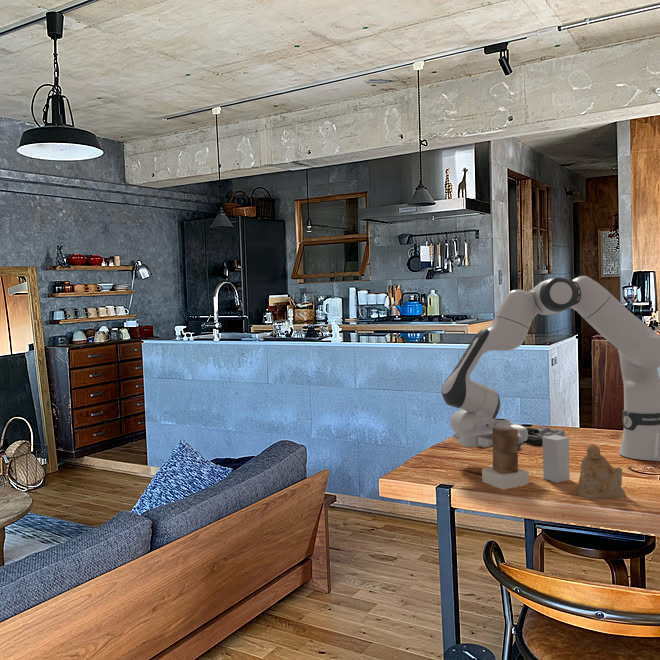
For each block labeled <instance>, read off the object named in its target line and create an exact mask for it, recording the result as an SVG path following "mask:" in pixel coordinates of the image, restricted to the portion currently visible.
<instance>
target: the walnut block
mask: <svg viewBox="0 0 660 660" xmlns="http://www.w3.org/2000/svg"><path fill="white" fill-rule="evenodd" d="M492 436H493V446H492V467H493V470H495V471H497V472H499V473H500V474H507V473H517V472H518V468H519V455H518V454H519V453H518V452H519V450H518V449H519V448H518V437H517V429H514V428H512V427H509V426H505V427H493V428H492Z"/></svg>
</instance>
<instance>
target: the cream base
mask: <svg viewBox="0 0 660 660" xmlns="http://www.w3.org/2000/svg"><path fill="white" fill-rule="evenodd" d="M529 474H530V472H529V471H527V470H524V469H522V468H519V467H518V472H517V473H507V474H500V473H499V472H497V471H495V470H493V466H492V467H488V468H482V469H481V477H482V478H481V481H482V483H484V482H485V483H484V484H486V483H487V484H486V485H489V484H490V486H492V485H493V486H492V487H494V486H495V487H494V488H497V487H498V488H497V489H499V488H501V489H500V490H502V489H506V490H508V489H507V488H511V489H513V488H512V487H515V488H518V487H517V486H520V487H522V486H521V485H525V486H527V485H526V484H529V485H530V475H529Z"/></svg>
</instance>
